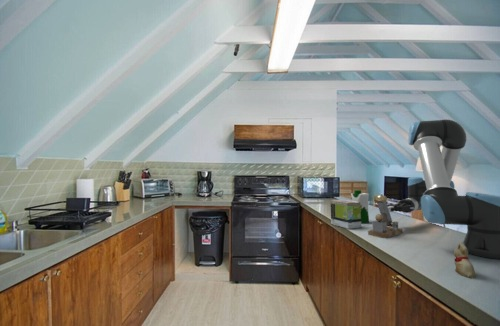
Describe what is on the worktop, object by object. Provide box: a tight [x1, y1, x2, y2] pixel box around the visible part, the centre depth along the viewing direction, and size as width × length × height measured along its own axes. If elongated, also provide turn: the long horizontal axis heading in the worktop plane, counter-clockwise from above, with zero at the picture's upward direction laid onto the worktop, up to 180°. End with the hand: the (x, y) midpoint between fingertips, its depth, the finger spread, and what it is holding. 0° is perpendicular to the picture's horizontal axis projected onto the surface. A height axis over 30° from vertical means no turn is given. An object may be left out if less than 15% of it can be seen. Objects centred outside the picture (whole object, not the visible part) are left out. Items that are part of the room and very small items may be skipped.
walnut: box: [374, 213, 383, 222], centre depth 131 cm, size 4×4×4 cm
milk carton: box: [350, 189, 370, 225], centre depth 164 cm, size 9×9×20 cm
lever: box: [373, 194, 393, 227], centre depth 134 cm, size 3×5×17 cm, turn 36°
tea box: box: [330, 199, 362, 230], centre depth 155 cm, size 15×10×15 cm
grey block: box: [372, 219, 387, 233], centre depth 131 cm, size 4×5×5 cm
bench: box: [367, 221, 404, 239], centre depth 134 cm, size 17×9×6 cm, turn 125°
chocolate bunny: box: [453, 241, 476, 279], centre depth 84 cm, size 6×8×10 cm
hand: (386, 210), depth 136 cm, fingers closed
